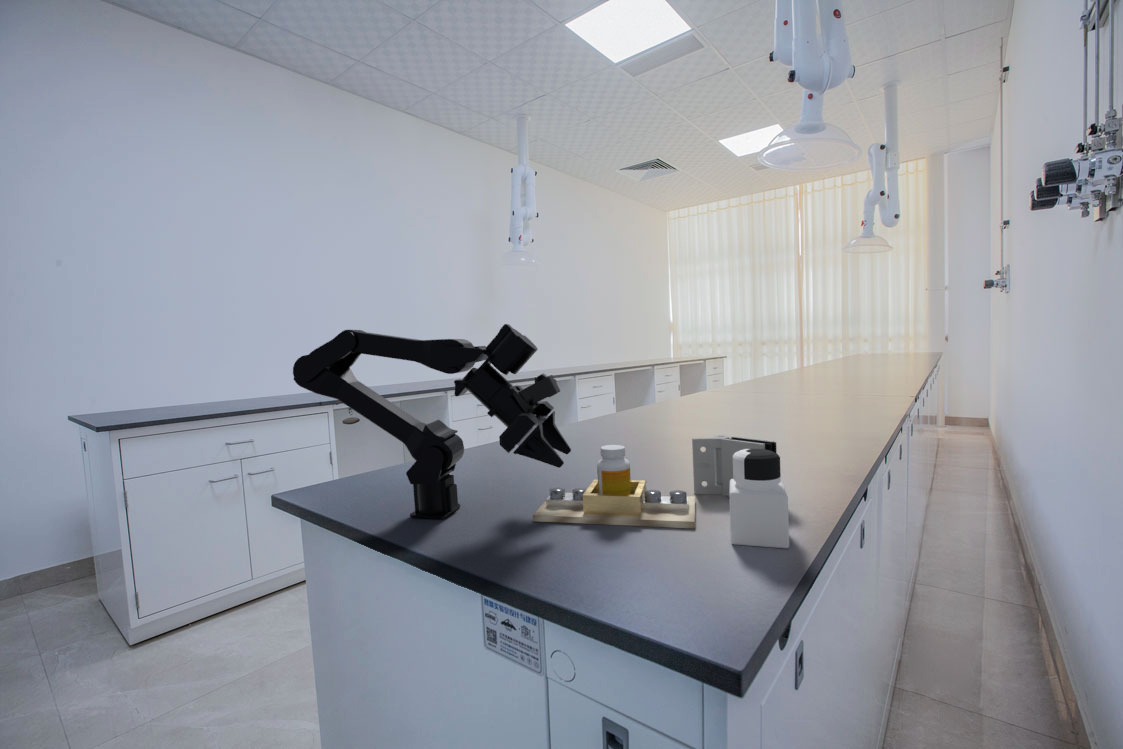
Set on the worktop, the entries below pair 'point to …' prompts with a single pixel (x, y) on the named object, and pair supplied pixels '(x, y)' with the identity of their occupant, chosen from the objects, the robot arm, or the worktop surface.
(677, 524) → the board
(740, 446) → the hinge
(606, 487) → the supplement bottle
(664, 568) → the worktop surface
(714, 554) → the worktop surface
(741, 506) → the medicine bottle
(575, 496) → the bottle holder fixture
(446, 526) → the worktop surface
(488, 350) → the robot arm
